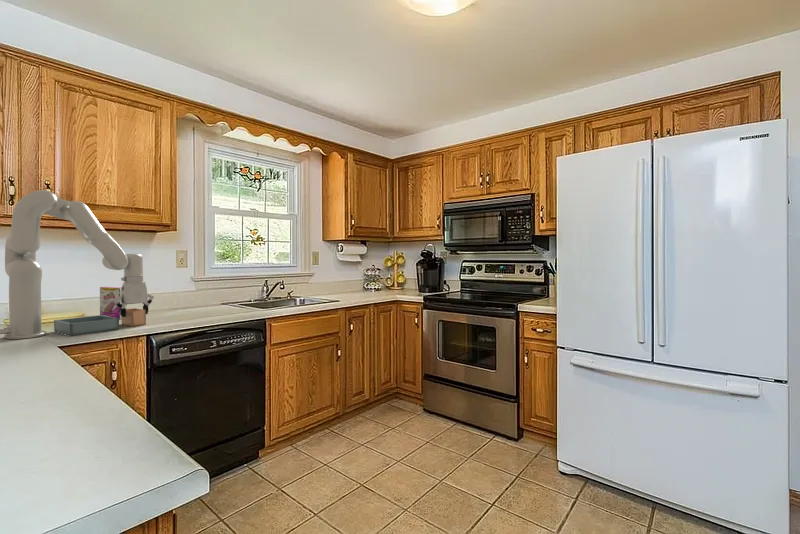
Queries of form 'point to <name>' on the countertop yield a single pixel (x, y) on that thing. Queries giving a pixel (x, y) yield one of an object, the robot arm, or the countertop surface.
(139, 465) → the countertop surface
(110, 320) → the dark grey tray
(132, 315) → the box
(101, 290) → the candy bar box
